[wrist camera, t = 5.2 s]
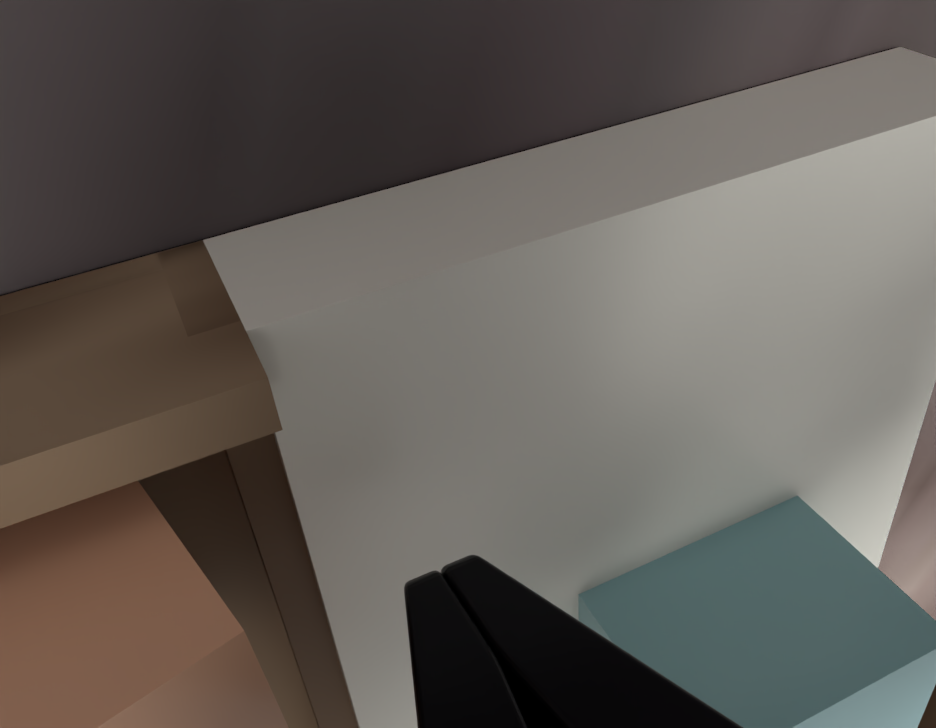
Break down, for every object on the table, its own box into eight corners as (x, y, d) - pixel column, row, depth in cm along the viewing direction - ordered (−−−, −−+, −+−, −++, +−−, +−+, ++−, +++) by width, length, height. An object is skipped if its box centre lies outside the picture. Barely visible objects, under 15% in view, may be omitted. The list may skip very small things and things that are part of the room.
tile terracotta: (243, 630, 7) (-175, 907, 6) (346, 853, 9) (72, 1082, 8) (78, 397, 10) (-234, 548, 8) (192, 619, 12) (-33, 761, 11)
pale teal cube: (797, 495, 14) (954, 638, 12) (766, 646, 16) (892, 788, 14) (578, 595, 13) (707, 773, 11) (579, 741, 15) (683, 912, 13)
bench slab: (901, 47, 13) (1026, 87, 11) (791, 556, 19) (860, 624, 18) (202, 240, 10) (246, 331, 8) (359, 762, 16) (399, 864, 15)
